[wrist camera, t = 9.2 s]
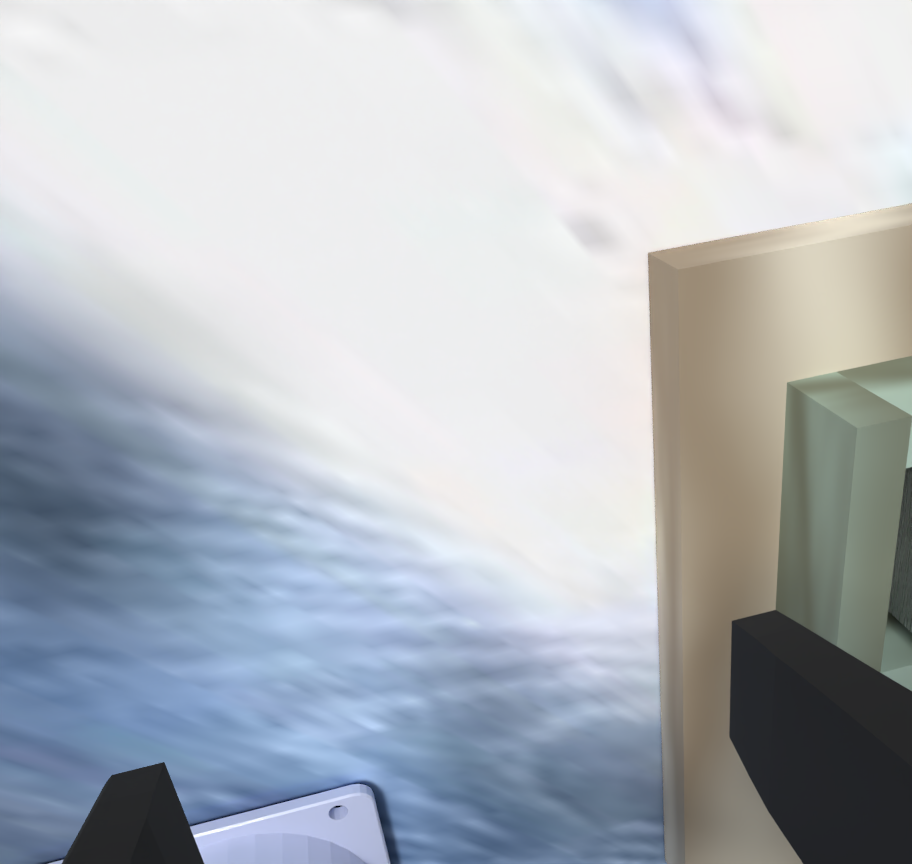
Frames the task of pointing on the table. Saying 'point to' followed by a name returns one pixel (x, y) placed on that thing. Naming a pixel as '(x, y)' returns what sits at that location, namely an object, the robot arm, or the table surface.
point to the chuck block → (772, 483)
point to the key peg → (903, 560)
